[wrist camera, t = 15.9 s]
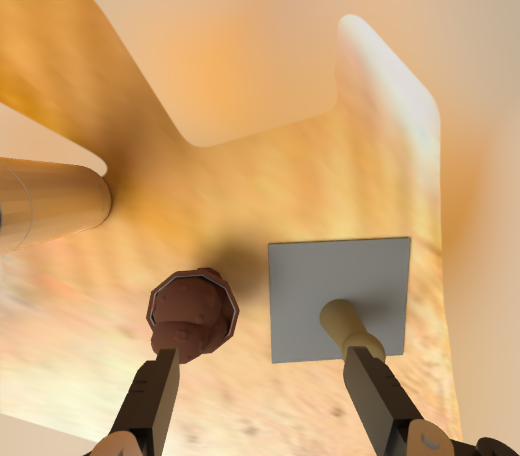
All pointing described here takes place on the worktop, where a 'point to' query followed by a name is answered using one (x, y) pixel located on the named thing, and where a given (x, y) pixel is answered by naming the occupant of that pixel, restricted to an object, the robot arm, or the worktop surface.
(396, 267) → the charcoal mat
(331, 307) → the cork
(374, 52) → the worktop surface
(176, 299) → the ice cream bowl
